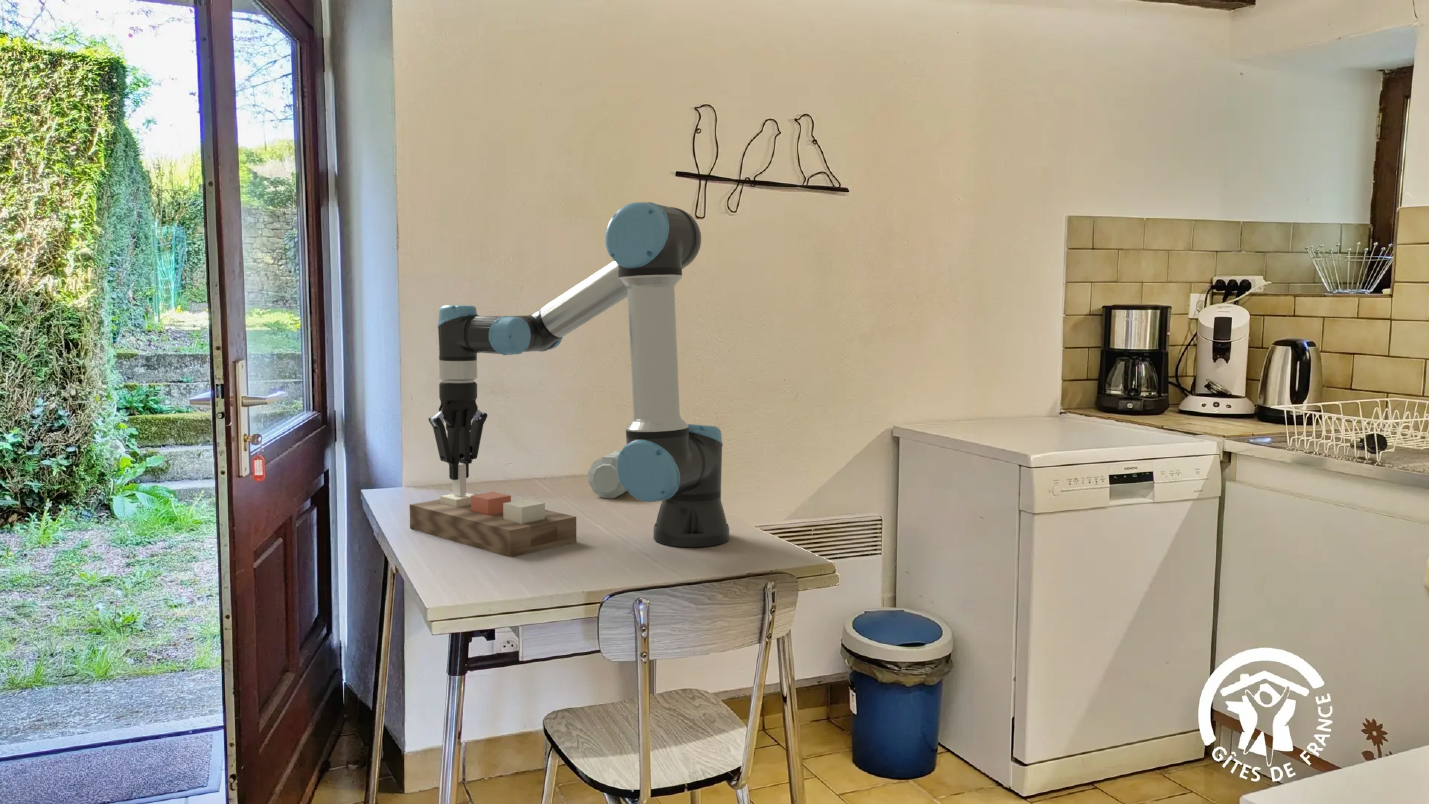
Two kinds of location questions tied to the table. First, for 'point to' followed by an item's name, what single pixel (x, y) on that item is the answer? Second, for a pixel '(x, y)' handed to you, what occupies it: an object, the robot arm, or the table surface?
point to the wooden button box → (492, 528)
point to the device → (606, 476)
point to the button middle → (489, 503)
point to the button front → (523, 511)
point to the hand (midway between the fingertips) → (459, 494)
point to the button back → (456, 500)
